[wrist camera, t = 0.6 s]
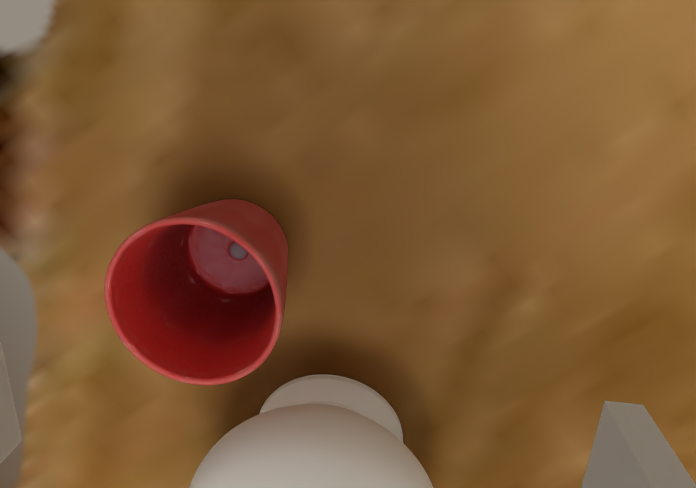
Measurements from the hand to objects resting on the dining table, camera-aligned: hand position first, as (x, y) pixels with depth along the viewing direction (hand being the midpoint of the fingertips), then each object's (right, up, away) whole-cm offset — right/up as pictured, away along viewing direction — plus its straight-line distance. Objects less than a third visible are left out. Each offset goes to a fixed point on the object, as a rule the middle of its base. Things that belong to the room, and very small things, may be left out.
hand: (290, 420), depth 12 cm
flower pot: (-7, +4, +28) cm, 30 cm away
